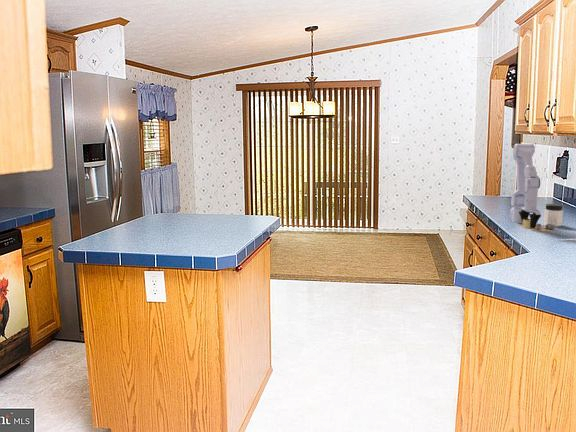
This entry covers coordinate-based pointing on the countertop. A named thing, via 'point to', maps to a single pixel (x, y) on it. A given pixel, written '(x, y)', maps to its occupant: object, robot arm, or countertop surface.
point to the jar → (553, 214)
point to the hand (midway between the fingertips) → (528, 226)
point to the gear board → (539, 228)
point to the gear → (550, 227)
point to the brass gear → (526, 223)
